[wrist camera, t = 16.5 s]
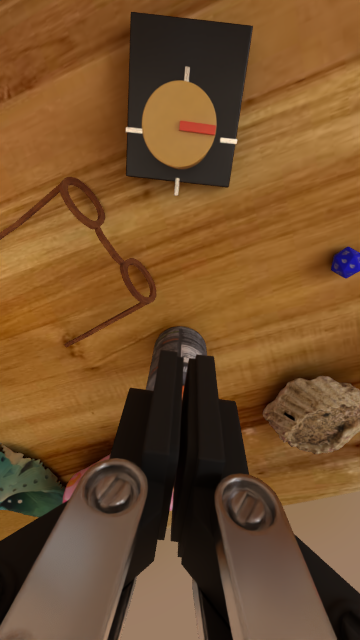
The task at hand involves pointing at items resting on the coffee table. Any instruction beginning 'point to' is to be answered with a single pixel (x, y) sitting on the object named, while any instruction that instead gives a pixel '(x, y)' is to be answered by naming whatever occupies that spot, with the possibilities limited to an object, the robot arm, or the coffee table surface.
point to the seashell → (315, 414)
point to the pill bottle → (176, 349)
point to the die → (346, 262)
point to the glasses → (96, 225)
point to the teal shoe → (27, 485)
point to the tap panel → (192, 66)
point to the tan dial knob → (179, 124)
